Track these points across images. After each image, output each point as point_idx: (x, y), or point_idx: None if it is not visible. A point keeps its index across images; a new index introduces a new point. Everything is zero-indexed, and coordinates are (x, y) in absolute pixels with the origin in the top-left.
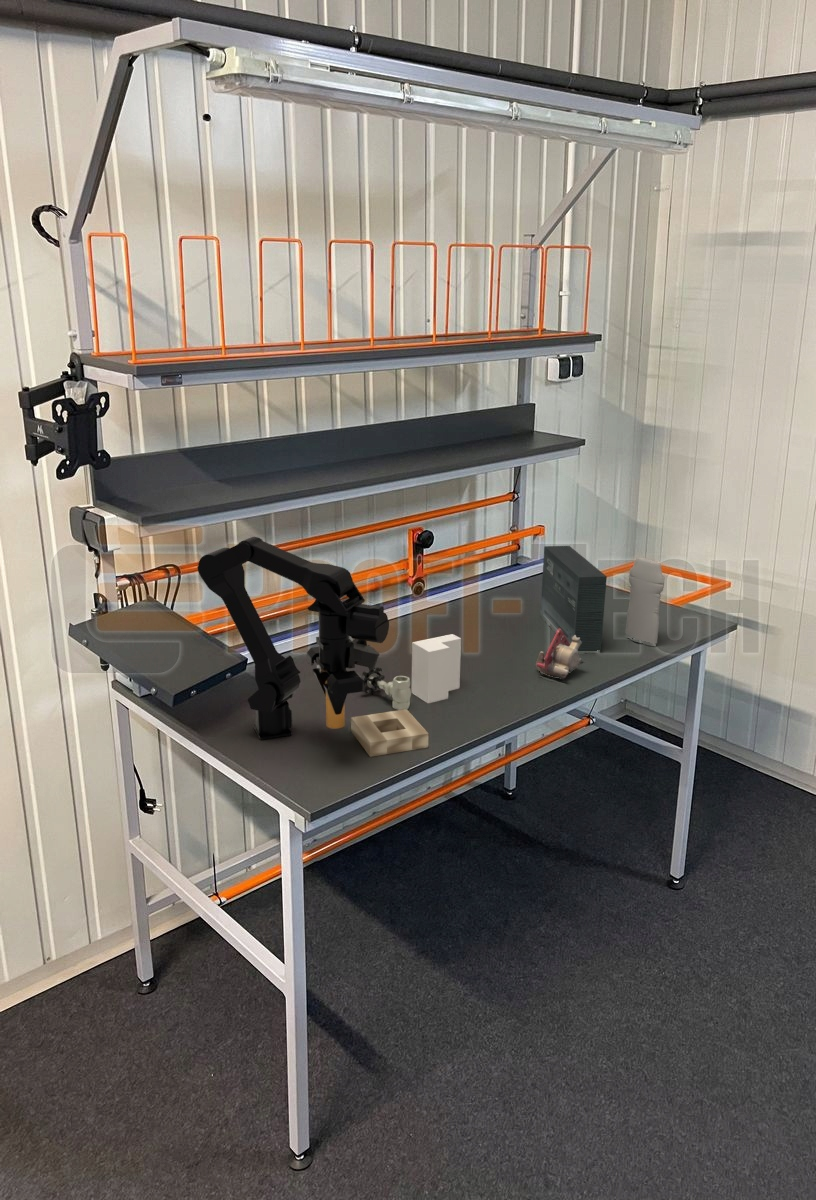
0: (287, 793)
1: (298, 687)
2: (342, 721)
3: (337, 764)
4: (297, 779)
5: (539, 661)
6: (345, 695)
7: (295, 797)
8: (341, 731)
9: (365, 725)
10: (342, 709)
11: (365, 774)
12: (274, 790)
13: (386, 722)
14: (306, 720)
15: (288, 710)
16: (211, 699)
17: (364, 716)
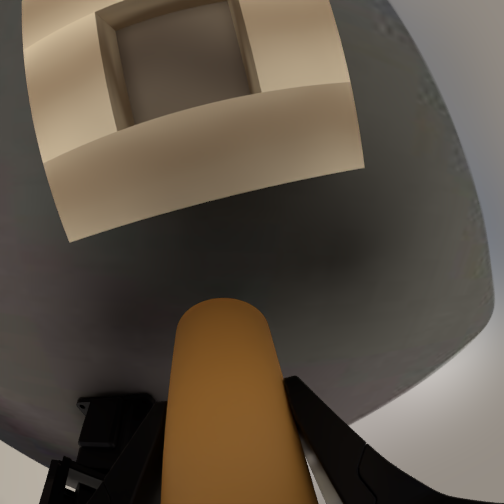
0: (433, 366)
1: (81, 500)
2: (260, 327)
3: (360, 277)
4: (396, 361)
5: None
6: (400, 476)
7: (451, 350)
8: (100, 256)
9: (158, 170)
10: (274, 382)
11: (435, 196)
12: (413, 387)
13: (107, 61)
14: (47, 351)
15: (120, 452)
16: (34, 459)
17: (57, 175)
